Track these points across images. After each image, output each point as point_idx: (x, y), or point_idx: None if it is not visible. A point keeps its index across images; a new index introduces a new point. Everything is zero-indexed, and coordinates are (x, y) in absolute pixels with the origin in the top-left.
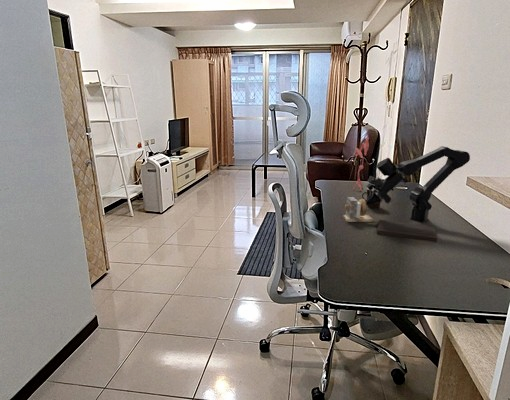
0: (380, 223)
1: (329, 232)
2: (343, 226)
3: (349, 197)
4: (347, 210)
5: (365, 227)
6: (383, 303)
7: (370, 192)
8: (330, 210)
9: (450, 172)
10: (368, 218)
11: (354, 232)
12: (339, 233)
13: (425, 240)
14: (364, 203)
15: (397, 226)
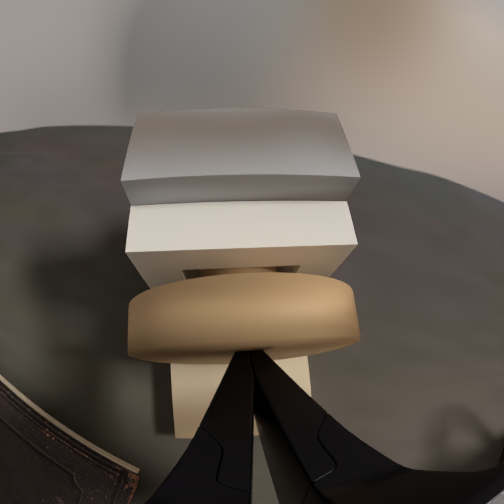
0: (43, 431)
1: (39, 131)
2: (88, 190)
3: (328, 129)
4: None
5: (51, 320)
6: None
7: (397, 499)
8: (414, 187)
9: None
10: (199, 404)
11: (3, 228)
12: (16, 164)
13: None
14: (144, 317)
15: (10, 501)
